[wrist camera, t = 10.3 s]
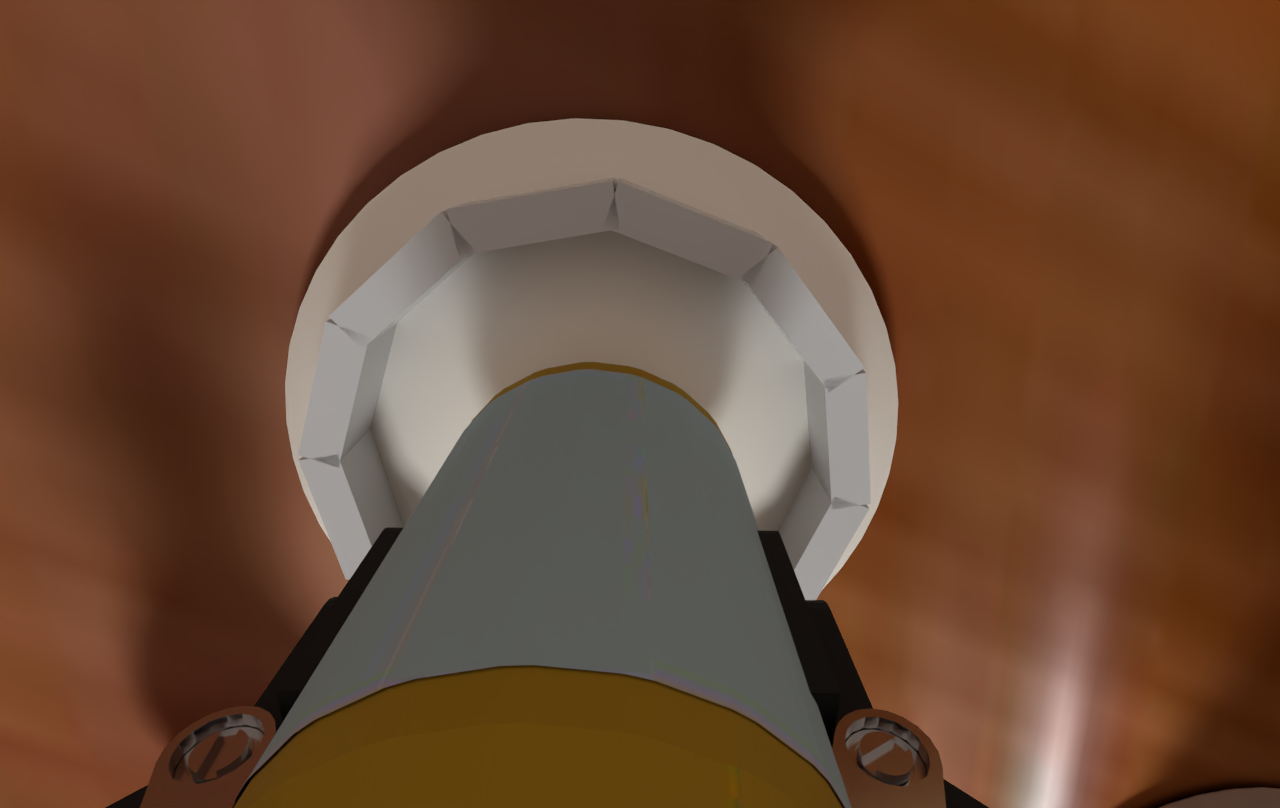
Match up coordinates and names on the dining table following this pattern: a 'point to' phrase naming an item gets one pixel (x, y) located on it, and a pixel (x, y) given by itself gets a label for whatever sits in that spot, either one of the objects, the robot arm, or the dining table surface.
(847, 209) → the dining table surface
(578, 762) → the bottle
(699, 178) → the collar base
